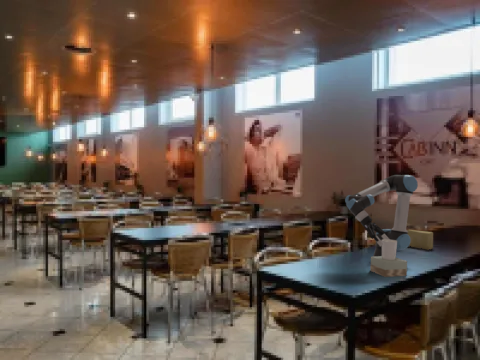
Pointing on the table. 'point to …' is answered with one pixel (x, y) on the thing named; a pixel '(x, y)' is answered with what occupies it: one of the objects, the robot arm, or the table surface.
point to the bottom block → (388, 271)
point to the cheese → (421, 239)
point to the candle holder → (389, 249)
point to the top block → (389, 263)
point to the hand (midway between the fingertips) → (385, 243)
